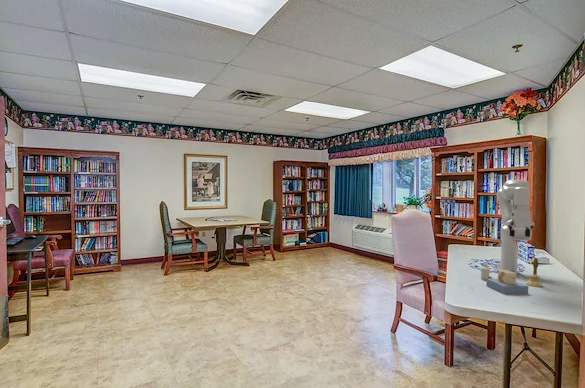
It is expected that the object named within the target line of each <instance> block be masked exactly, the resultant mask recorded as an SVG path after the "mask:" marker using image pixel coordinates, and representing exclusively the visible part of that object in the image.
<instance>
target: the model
mask: <svg viewBox="0 0 585 388" xmlns="http://www.w3.org/2000/svg"><path fill="white" fill-rule="evenodd" d="M480 269H481V274H480V280H485V281H487V279H489V277H490V269H491V268H490V265H487V264H484V266H481V268H480Z"/></svg>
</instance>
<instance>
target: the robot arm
mask: <svg viewBox="0 0 585 388" xmlns="http://www.w3.org/2000/svg"><path fill="white" fill-rule="evenodd" d="M530 189H531V185H530V182H529V181H528V180H525V179H510V180H509V179H508V180H507V181H505V182H504V184H503V186H502V187H501V189H498V190H497V192H496V201H497V204H498V205H499V208H500V212H501V215H500V216H501V223H502V224H503V226H502V227H501V228H500V232H499V233H500V239H501V243H500V244H501V247H500V263H498V264H497V266H498V267H497V271H498V270H509V271H511V272H514V273H516V275H519V274H520V273H521V271H520V270H518V259H519V258H518V254H519V246H518V245H517V243H516V242H515V241H520V242H522V241H524V242H528V241H530V240H532V235H533V234H532V233H533V232H532V229H533V228H534V226H535V225H536V223H535V222H534V221H532V214H531V213H532V212H531V211H530V210H529V208H530V196H531V190H530ZM510 201H511V202H510ZM512 202H513V203H512Z"/></svg>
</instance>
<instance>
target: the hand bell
mask: <svg viewBox="0 0 585 388" xmlns="http://www.w3.org/2000/svg"><path fill="white" fill-rule="evenodd" d="M532 267H533V272H532V274H530V275H529V279H528V280H527V281H526V282H525V285H526V286H533V287H536V288H543V285H544V284H542V282H541V280H540V276H539V275H538V267H539V260H538V258H536V257H534V259H533V262H532Z"/></svg>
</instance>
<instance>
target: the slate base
mask: <svg viewBox="0 0 585 388" xmlns="http://www.w3.org/2000/svg"><path fill="white" fill-rule="evenodd" d="M486 286H487V287H489V288H491V289H493V290H495V291H497V292H500V293H501V294H510V293H528V294H529V285H527V284H524V283H521V282H518V281H516V284H504V283H502V282H500V281H498V278H488V279H487V280H486Z"/></svg>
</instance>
